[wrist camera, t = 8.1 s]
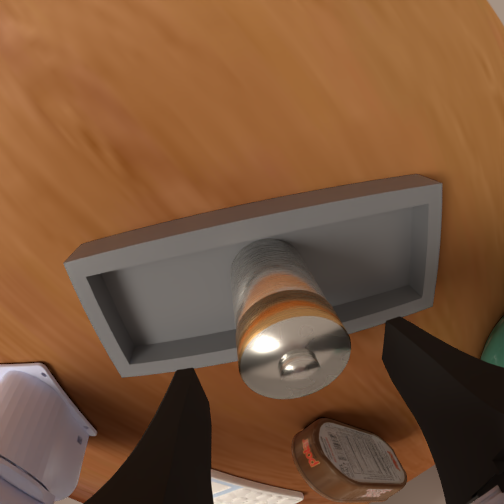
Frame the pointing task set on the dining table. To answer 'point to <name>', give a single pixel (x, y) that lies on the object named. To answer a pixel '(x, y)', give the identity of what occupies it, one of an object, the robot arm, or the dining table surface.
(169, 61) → the dining table surface
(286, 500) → the calculator
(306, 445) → the tin
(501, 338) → the mug
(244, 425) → the dining table surface
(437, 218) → the trough
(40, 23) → the dining table surface
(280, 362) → the cell
